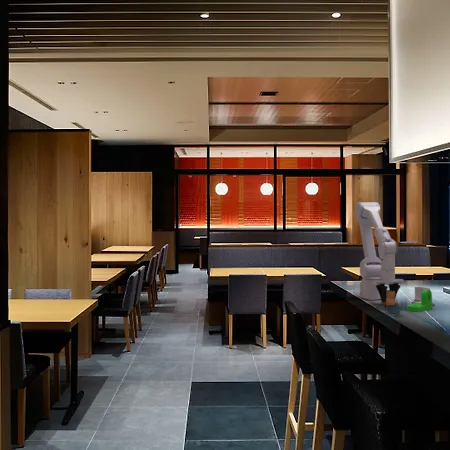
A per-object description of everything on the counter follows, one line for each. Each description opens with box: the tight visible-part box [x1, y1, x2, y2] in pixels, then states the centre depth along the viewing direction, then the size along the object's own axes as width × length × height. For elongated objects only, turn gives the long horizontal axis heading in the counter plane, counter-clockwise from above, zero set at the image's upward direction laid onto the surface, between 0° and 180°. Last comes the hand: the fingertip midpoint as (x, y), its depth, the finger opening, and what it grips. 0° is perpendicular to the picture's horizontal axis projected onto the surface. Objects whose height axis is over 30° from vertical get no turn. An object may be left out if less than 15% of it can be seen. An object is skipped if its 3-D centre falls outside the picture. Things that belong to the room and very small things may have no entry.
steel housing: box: [413, 286, 431, 302], centre depth 223 cm, size 7×4×6 cm, turn 19°
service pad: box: [411, 301, 436, 307], centre depth 215 cm, size 8×6×1 cm
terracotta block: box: [380, 289, 396, 307], centre depth 216 cm, size 4×4×6 cm
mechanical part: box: [406, 289, 433, 313], centre depth 205 cm, size 12×6×8 cm, turn 135°
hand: (388, 301), depth 216 cm, fingers closed on terracotta block, 4 cm apart
